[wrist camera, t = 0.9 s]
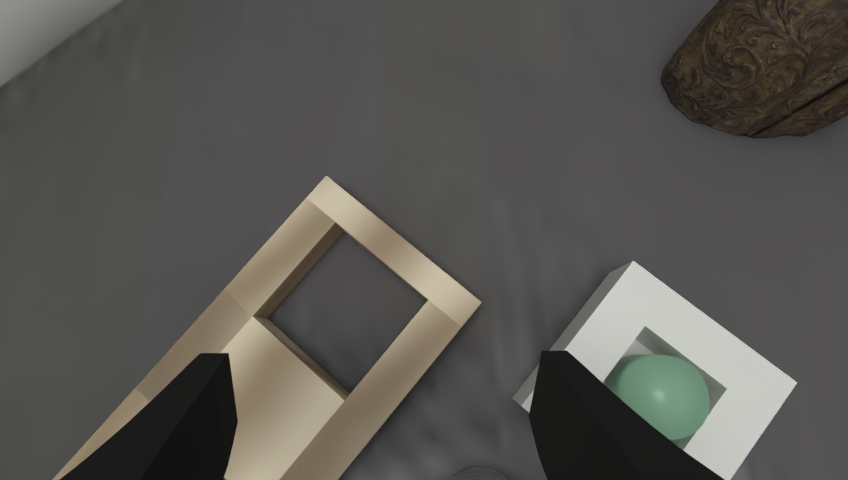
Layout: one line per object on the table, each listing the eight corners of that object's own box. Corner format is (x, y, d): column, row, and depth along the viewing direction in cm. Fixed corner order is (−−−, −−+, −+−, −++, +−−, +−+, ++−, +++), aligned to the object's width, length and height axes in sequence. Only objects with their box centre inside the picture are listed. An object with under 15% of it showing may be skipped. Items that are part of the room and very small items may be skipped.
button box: (748, 377, 24) (797, 382, 21) (650, 516, 23) (685, 545, 20) (609, 272, 25) (633, 260, 22) (511, 398, 24) (521, 406, 21)
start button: (690, 386, 23) (726, 391, 20) (649, 443, 22) (679, 457, 19) (631, 340, 23) (657, 338, 20) (590, 394, 23) (610, 401, 20)
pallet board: (479, 305, 25) (481, 302, 23) (190, 662, 23) (165, 692, 21) (335, 188, 27) (326, 175, 25) (52, 505, 25) (17, 518, 23)
